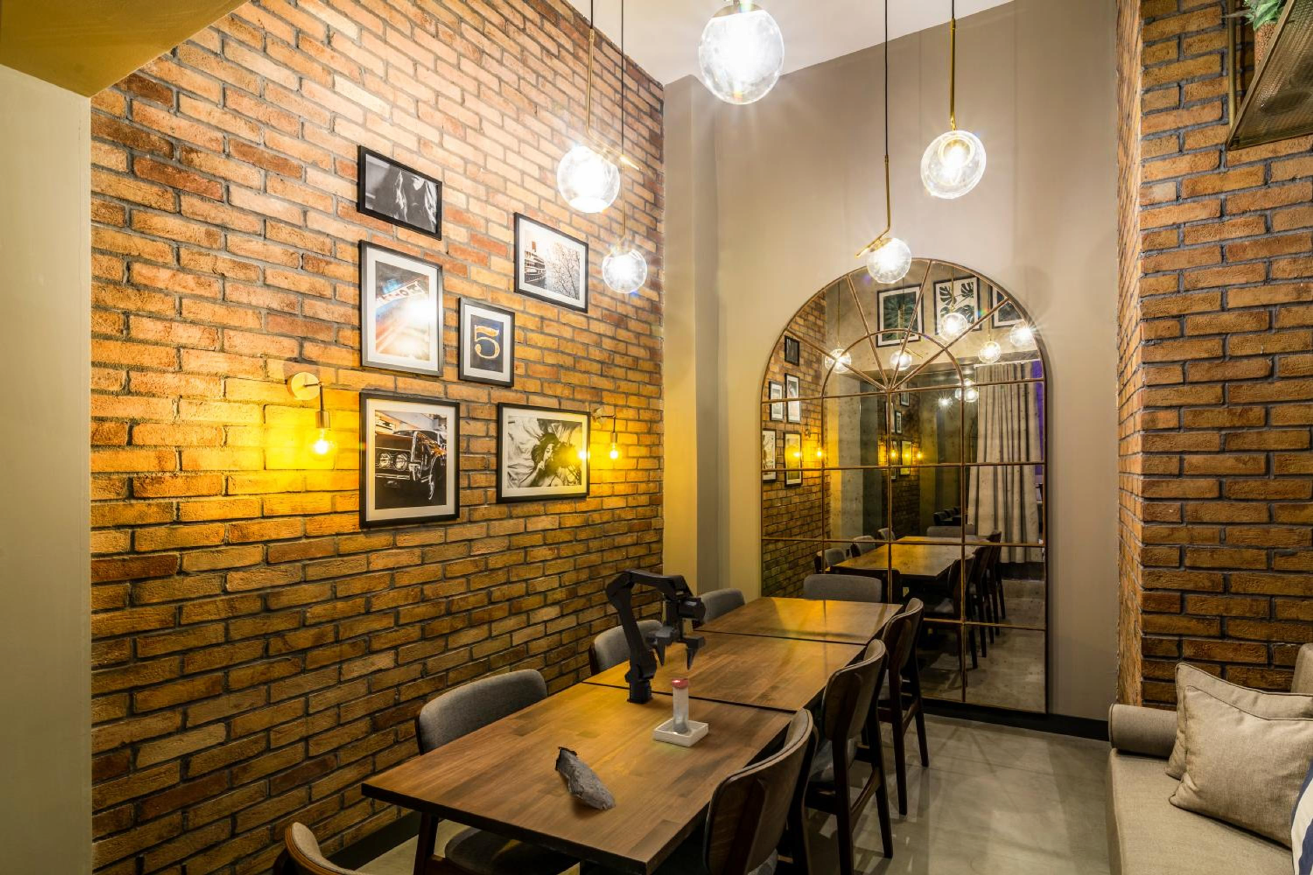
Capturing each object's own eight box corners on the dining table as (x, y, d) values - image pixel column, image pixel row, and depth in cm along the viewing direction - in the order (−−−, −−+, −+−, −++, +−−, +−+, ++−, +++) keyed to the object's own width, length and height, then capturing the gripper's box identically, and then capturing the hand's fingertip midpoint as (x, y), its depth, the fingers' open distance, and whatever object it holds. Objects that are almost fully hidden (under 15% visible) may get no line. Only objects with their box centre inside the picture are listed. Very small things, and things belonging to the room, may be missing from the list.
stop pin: (666, 732, 186) (665, 678, 187) (684, 727, 189) (683, 675, 190) (677, 739, 181) (676, 684, 182) (696, 734, 184) (695, 681, 185)
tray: (653, 739, 183) (653, 729, 183) (673, 725, 192) (673, 716, 193) (689, 746, 177) (689, 737, 177) (708, 732, 187) (708, 723, 187)
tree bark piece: (571, 775, 170) (541, 755, 167) (592, 746, 171) (563, 726, 169) (597, 838, 144) (562, 815, 141) (622, 803, 145) (588, 780, 143)
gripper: (635, 618, 205) (636, 670, 204) (689, 624, 195) (690, 678, 194) (653, 612, 214) (654, 661, 213) (706, 617, 205) (707, 669, 204)
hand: (675, 667), depth 206 cm, fingers open, 9 cm apart
